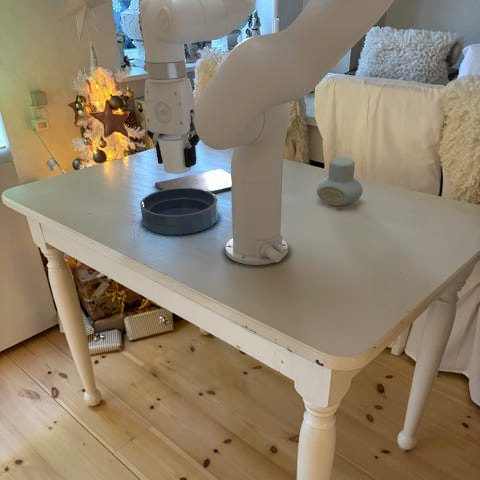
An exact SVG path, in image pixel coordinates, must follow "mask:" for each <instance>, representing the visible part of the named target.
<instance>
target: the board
mask: <svg viewBox="0 0 480 480" xmlns="http://www.w3.org/2000/svg"><path fill="white" fill-rule="evenodd" d="M154 186H155V187H156V188H157V189H158V190H159V191H161V190H166V189H172V188H196V189H202V190H205V191H209V192H211V193H212V194H214V195H215V194H220V193H224V192H228V191H231V173H228V172H226V171H224V170H222V169H221V168H218V169H214V170H209V171H204V172H200V173H195V174H190V175H185V176H180V177H175V178H170V179H166V180H162V181H157V182H154Z"/></svg>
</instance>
